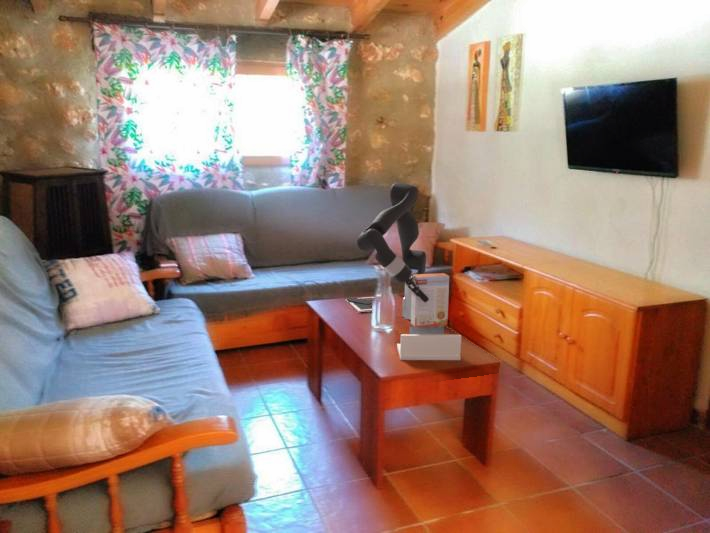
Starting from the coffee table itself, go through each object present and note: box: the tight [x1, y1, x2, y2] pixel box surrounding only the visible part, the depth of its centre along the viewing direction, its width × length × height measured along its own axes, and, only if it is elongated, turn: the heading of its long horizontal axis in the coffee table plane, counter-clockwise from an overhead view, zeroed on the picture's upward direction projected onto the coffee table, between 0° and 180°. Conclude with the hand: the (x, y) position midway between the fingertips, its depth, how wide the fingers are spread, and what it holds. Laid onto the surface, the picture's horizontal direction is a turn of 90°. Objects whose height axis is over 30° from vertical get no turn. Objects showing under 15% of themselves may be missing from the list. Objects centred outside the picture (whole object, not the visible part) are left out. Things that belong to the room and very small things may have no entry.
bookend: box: [409, 324, 445, 335], centre depth 244 cm, size 2×14×8 cm, turn 92°
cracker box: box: [410, 272, 450, 327], centre depth 235 cm, size 14×6×21 cm, turn 103°
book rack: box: [396, 333, 462, 361], centre depth 239 cm, size 14×24×10 cm, turn 92°
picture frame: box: [345, 296, 375, 313], centre depth 301 cm, size 16×3×21 cm
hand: (425, 298), depth 234 cm, fingers closed on cracker box, 6 cm apart
